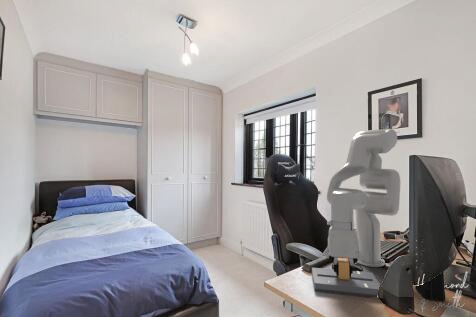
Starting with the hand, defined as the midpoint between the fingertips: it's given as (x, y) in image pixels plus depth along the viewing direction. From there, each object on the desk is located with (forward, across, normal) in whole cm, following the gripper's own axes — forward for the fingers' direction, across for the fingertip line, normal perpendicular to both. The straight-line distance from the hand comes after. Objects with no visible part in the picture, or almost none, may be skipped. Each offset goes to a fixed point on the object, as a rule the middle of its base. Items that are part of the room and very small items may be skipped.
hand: (343, 274), depth 86 cm
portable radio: (+4, +27, -1) cm, 28 cm away
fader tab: (+3, 0, 0) cm, 3 cm away
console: (+4, 0, 0) cm, 4 cm away
